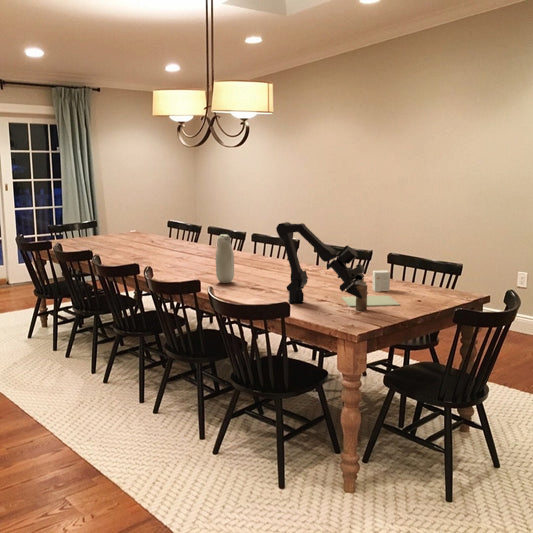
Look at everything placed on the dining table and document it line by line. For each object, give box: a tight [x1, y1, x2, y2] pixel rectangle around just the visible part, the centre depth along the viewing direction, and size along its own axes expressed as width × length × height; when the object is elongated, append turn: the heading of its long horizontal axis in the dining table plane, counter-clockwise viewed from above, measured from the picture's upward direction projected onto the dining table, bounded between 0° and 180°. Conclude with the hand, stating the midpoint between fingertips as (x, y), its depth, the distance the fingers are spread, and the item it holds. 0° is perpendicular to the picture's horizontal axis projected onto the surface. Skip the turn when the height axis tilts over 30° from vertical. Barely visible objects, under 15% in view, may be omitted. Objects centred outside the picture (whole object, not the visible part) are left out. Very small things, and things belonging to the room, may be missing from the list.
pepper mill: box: [355, 280, 368, 312], centre depth 251 cm, size 5×5×14 cm
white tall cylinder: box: [215, 233, 235, 284], centre depth 313 cm, size 10×10×28 cm
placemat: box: [341, 295, 400, 308], centre depth 267 cm, size 24×18×1 cm
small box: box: [372, 269, 391, 293], centre depth 290 cm, size 8×6×10 cm
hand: (364, 296), depth 250 cm, fingers open, 8 cm apart
